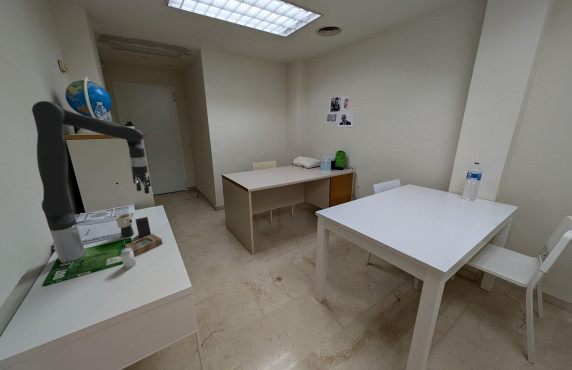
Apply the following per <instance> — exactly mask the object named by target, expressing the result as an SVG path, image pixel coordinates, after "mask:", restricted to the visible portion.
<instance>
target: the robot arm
mask: <svg viewBox="0 0 572 370" xmlns="http://www.w3.org/2000/svg"><path fill="white" fill-rule="evenodd" d="M31 111H32V114H33V115H32V116H33V118H34V122H35V128H36V130H37V131H36V133H37V141H36V160H37V167H38V171H39V172H38V173H39V176H40V177H39V178H40V179H41V180H40V181H41V184H42V186H43V187H42V188H43V189H42V190H43V197H42V198H43V200H42V201H41V209H42V211H43V212H44V215H45V219H46V222H47V226H48V228H49V232H50V234H51V238H52V241H53V243H52V244H53V246H54V250H55V252H56V256H57V259H58V260H59V261H60V262H61V263H62V264H65V263H69V262H73V261H76V260H79V259H81V258H82V257H84V256H85V255H86V251H85V247H84V244H83V240H82V237H81V234H80V230H79V227H78V224H77V220H76V217H75V214H74V211H73V208H72V202H71V200H70V196H69V192H68V191H69V190H68V180H69V179H68V177H69V162H68V161H69V160H68V153H67V152H68V151H67V147H66V144H65V141H64V137H63V136H64V135H63V127H64V126H69V127H70V126H71V127H75V128H78V129H79V128H80V129H83V130H86V131H87V130H88V131H90V132H93V133H97V134H101V135H105V136H109V137H112V138H117V139H122V140H126V142H127V147H128V153H129V159H130V162H129V163H130V169H131V174H132V176H131V177H132V182H133V184H135V187H136V191H137V192H141V191H142V186H143V190H144V194H146V195H147V194H150V188H149V187H152V185H151V178H150V176H149V175H146V174H147V173H149V169H148V165H147V164H148V163H147V159H146V153H145V149H144V147H143V143H142V141H143V139H144V135H143V132H142V131H140V130H138V129H136V128H132V127H128V126H123V125H120V124H118V123H115V122H111V121H108V120H104V119H100V118H96V117H91V116H86V115H84V114H83V115H82V114H79V113H77V112H73V111H71V110H68V109H64V108H62V107H60V106H59V105H58V104H56V103H54V102H52V101H48V100H47V101H46V100H41V101H37V102H36V103H34V104H33V105H32V107H31ZM63 125H64V126H63Z"/></svg>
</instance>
